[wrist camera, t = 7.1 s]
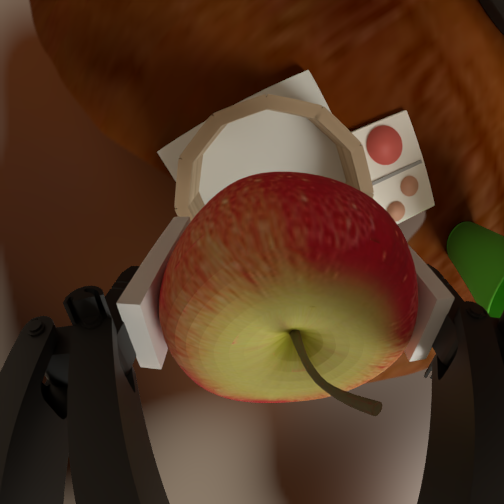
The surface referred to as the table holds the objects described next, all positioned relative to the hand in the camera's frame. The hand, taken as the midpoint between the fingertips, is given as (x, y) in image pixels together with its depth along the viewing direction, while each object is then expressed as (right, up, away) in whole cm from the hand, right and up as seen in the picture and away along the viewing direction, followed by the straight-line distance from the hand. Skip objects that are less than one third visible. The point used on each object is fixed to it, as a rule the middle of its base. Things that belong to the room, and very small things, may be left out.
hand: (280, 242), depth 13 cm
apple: (0, 0, 0) cm, 1 cm away
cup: (+23, +1, +13) cm, 26 cm away
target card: (+12, +7, +10) cm, 17 cm away
